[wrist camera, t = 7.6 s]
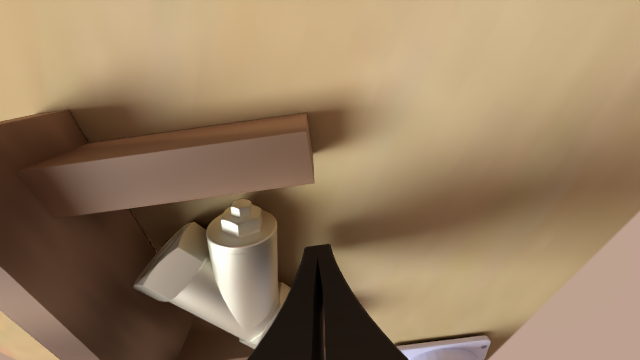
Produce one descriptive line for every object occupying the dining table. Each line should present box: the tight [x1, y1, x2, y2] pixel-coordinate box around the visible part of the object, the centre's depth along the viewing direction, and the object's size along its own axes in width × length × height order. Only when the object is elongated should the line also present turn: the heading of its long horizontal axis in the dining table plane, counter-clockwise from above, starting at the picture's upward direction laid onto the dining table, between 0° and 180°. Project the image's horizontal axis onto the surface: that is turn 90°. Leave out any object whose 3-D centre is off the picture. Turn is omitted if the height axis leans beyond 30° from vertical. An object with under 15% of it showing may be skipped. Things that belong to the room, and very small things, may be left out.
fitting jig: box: [0, 110, 325, 360], centre depth 12 cm, size 18×12×5 cm, turn 7°
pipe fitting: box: [133, 199, 291, 349], centre depth 13 cm, size 8×4×7 cm
